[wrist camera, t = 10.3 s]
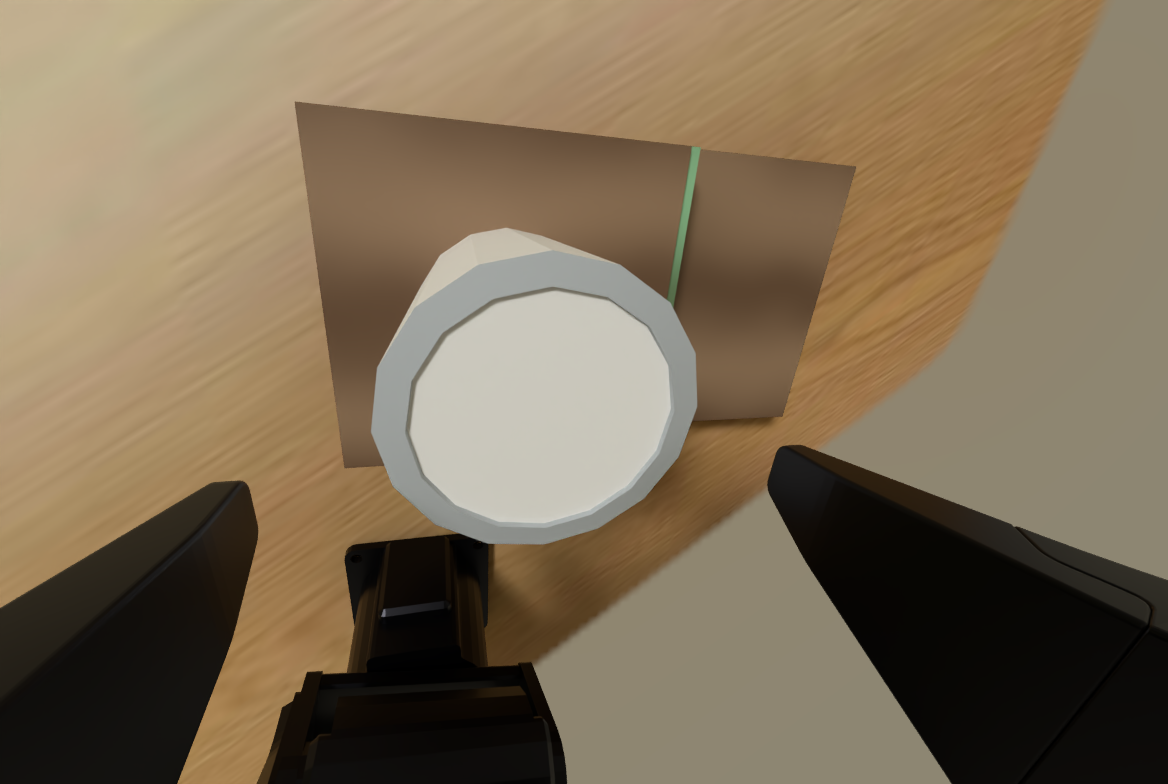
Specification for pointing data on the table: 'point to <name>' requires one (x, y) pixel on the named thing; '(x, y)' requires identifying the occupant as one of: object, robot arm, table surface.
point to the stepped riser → (567, 238)
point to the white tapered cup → (531, 390)
